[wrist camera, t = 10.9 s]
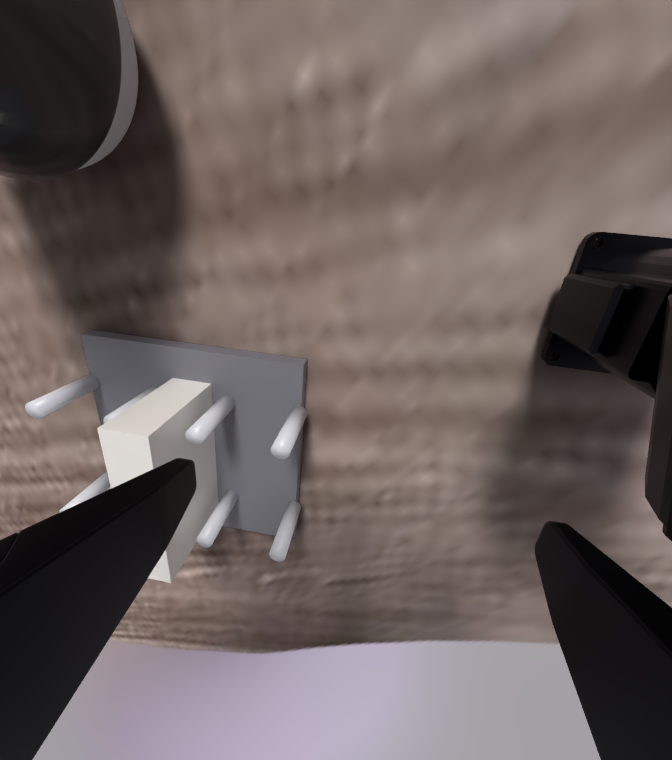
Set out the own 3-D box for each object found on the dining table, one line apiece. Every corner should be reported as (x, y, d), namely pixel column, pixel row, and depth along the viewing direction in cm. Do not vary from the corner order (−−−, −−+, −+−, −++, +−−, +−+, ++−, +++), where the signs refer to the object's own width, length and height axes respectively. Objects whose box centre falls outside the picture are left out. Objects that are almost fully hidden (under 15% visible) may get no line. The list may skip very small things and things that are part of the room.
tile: (211, 383, 21) (148, 436, 15) (218, 506, 25) (171, 582, 19) (173, 377, 21) (97, 427, 15) (186, 500, 25) (130, 574, 20)
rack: (313, 360, 20) (292, 396, 16) (302, 529, 26) (283, 592, 21) (87, 329, 22) (7, 354, 17) (123, 496, 27) (70, 549, 23)
